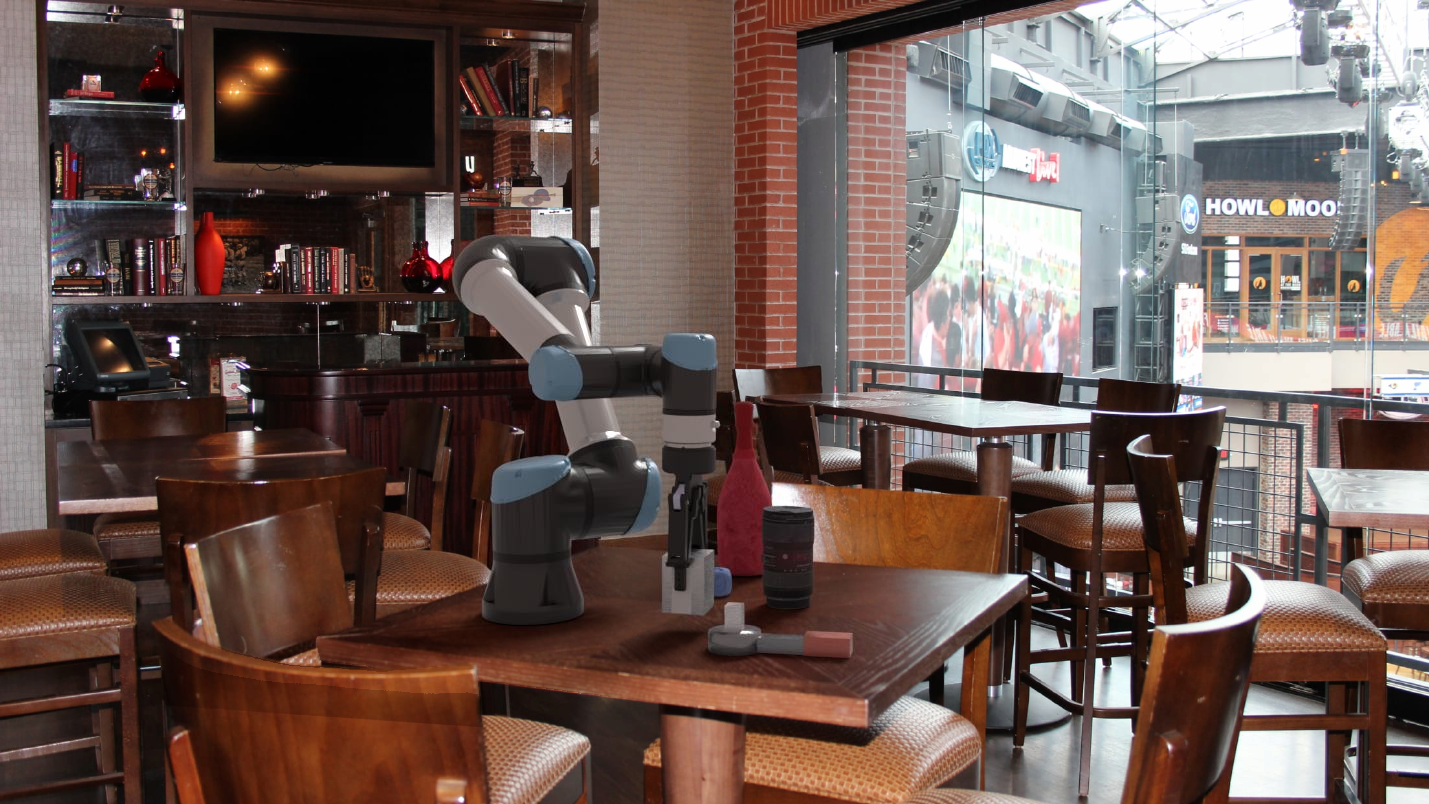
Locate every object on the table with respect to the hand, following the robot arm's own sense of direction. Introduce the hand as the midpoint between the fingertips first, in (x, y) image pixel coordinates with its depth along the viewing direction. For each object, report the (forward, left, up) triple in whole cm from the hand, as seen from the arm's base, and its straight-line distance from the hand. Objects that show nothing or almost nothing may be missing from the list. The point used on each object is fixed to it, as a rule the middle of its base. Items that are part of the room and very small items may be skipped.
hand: (687, 606), depth 173 cm
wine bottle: (0, +43, -4) cm, 43 cm away
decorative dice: (-1, +25, -4) cm, 25 cm away
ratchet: (+15, -9, -3) cm, 17 cm away
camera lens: (+11, +19, -4) cm, 22 cm away
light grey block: (0, 0, 0) cm, 0 cm away
